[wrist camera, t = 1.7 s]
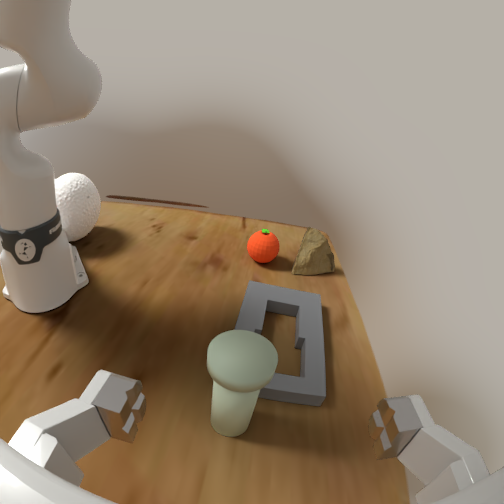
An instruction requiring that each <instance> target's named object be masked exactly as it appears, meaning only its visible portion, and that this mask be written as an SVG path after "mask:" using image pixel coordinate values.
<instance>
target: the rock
mask: <svg viewBox="0 0 504 504" xmlns="http://www.w3.org/2000/svg"><path fill="white" fill-rule="evenodd" d="M334 271H335V264H334V255H333V253H332V252H331V249H330V246H329V244H328V240H327V239H326V238H325V237H324V236H323V235H322V234H321V233H320V232H319V231H318V230H316V229H314V228H310V227H308V229H307V231H306V233H305V235H304V237H303V240H302V244H301V246H300V249H299V252H298V255H297V256H296V259H295V262H294V264H293V267H292V274H293V275H295V274H302V275H315V274H320V273H321V274H322V273H325V272H334Z"/></svg>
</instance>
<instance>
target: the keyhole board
mask: <svg viewBox="0 0 504 504" xmlns="http://www.w3.org/2000/svg"><path fill="white" fill-rule="evenodd" d="M265 311H269V312H274V313H279V314H284V315H289V316H295V317H296V333H295V348H297V349H301V368H300V377H297V376H291V375H285V374H279V373H274V375H273V378H272V379H271V381H270V382H269V383H268V384H267V385H266V386H265V387H263V388H261V389H260V392H259V395H258V397H259V398H265V399H271V400H277V401H283V402H289V403H297V404H304V405H313V406H320V405H321V404H322V402H323V401H324V399H325V398H326V376H325V354H324V337H323V322H322V309H321V297H320V295H319V294H314V293H309V292H304V291H299V290H294V289H288V288H283V287H278V286H273V285H268V284H264V283H259V282H254V281H249V283H248V287H247V290H246V293H245V296H244V300H243V303H242V306H241V310H240V313H239V316H238V319H237V323H236V326H235V329H234V330H247V331H251V332H255V333H257V334H260V335H261V332H262V327H263V322H264V317H265Z"/></svg>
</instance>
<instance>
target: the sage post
mask: <svg viewBox="0 0 504 504" xmlns="http://www.w3.org/2000/svg"><path fill="white" fill-rule="evenodd" d="M277 364H278V354H277V351H276V349H275V347H274V346H273V344H272V343H271V342H270V341H269V340H268V339H266V338H265V337H263V336H261V335H260V334H257V333H255V332H251V331H247V330H231V331H226V332H223V333H221V334H219V335H218V336H216V337H215V338H214V339H213V340H212V341H211V343H210V344H209V347H208V351H207V369H208V372H209V374H210V376H211V377H212V379H213V380H214V381H213V394H212V406H211V425H212V427H213V428H214V430H215V431H216V432H218V433H219V434H221V435H223V436H227V437H235V436H238V435H241V434H242V433H244V432H245V431H246V430H247V428H248V425H249V423H250V420H251V417H252V414H253V411H254V408H255V405H256V402H257V398H258V395H259V392H260V389H261V388H263V387H265V386H266V385H267V384H268V383H269V382H270V381H271V379H272V378H273V375H274V372H275V369H276V366H277Z"/></svg>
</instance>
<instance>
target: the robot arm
mask: <svg viewBox="0 0 504 504" xmlns="http://www.w3.org/2000/svg"><path fill="white" fill-rule="evenodd" d="M70 3H71V0H0V47H1V48H4V49H7V50H10V51H13V52H15V53H17V54H18V55H19V56H20V57H21V58H22V59H23V60H24V62H25V63H24V64H20V65H14V66H10V67H5V68H1V69H0V240H1V243H2V246H3V248H4V249H3V250H2V252H1V255H0V263H1V268H2V272H3V276H4V280H5V284H6V285H5V287H4V289H3V295H4V297H5V298H7V299H9V300H11V301H13V303H14V304H15V306H16V307H17V308H19V309H20V310H22V311H25V312H30V313H39V312H45V311H49V310H52V309H54V308H56V307H58V306H60V305H62V304H63V303H65V302H66V301H67V300H69V299H70V298H71V297H72V295H73V294H74V293H75V292H76V291H77V290H78V289H80V288H82V287H84V286H85V285H87V284H88V282H89V280H88V277H87V274H86V272H85V269H84V267H83V264H82V262H81V259H80V257H79V254H78V252H77V249H76V247H75V246H71V244H70V243H68V239H67V236H66V233H65V231H64V230H63V229H62V224H61V216H60V212H59V209H58V208H57V204H56V194H55V180H54V169H53V166H52V164H51V163H50V161H49V160H48V159H47V158H45V157H44V156H42V155H40V154H38V153H35V152H32V151H30V150H27V149H26V148H25V147H24V146H23V145H22V143H21V140H20V133H21V132H23V131H28V130H34V129H40V128H46V127H53V126H59V125H63V124H66V123H69V122H73V121H76V120H79V119H82V118H85V117H86V116H87V115H88V114H89V113H90V112H91V111H92V110H93V108H94V107H95V105H96V103H97V101H98V99H99V97H100V93H101V88H102V79H101V74H100V71H99V69H98V67H97V65H96V64H95V63H94V62H93V61H92V60H91V59H89V58H88V57H86V56H85V55H84V54H82V52H81V51H80V50H79V49H78V47H77V46H76V45H75V43H74V41H73V39H72V36H71V33H70V29H69V10H70ZM142 389H143V387H142V384H141V381H138V380H135V379H131V378H128V377H124V376H121V375H118V374H115V373H111V372H108V371H105V370H102V369H101V370H99V371H98V372H97V373H96V375H95V376H94V377H93V379H92V380H91V382H90V383H89V385H88V386H87V388H86V389H85V391H84V392H83V394H82V395H81V397H80V398H79V399H76V398H75V399H72V400H70V401H68V402H66V403H63V404H61V405H59V406H56V407H54V408H52V409H49V410H47V411H45V412H42V413H40V414H38V415H35V416H33V417H30V418H28V419H25V421H24V422H23V423H22V425H21V426H20V428H19V429H18V431H17V432H16V433H15V435H14V436H13V438H12V439H11V441H10V442H9V444H7V443H6V442H5V441H4V440H2V439H1V438H0V504H117V503H115V502H112V501H109V500H107V499H104V498H102V497H100V496H97V495H95V494H93V493H90V492H88V491H86V490H84V489H82V488H80V487H79V486H80V483H81V481H82V479H83V477H84V474H83V472H82V470H81V469H80V468H79V467H78V466H77V465H76V463H75V462H76V461H77V460H79V459H80V458H82V457H84V456H85V455H87V454H88V453H90V452H91V451H93V450H94V449H96V448H97V447H99V446H100V445H101V444H103V443H104V442H106V441H107V440H109V439H110V437H112V438H115V439H119V440H122V441H125V442H129V443H133V441H134V439H135V436H136V434H137V432H138V427H137V423H138V422H140V421H142V420H143V417H144V415H145V410H146V399H145V396H144V395H143V394H142V393H141V391H142ZM377 407H378V410H377V411H376V412H374V413H373V414H372V416H371V418H370V419H369V425H368V428H369V434H370V437H371V438H372V439H374V440H375V443H374V445H373V448H374V452H375V455H376V459H377V460H380V459H387V458H393V457H397V459H398V460H399V461H400V462H401V463H402V464H403V465H404V466H405V467H406V468H407V469H409V470H410V471H411V472H412V473H413V474H414V475H415V476H416V477H417V478H418V479H419V480H420V481H421V482H422V483H423V484H424V485H425V487H424V488H422V489H421V490H420V491H419V492H417V494H416V495H415V498H416V501H417V504H504V467H502V468H501V469H499V470H497V471H496V472H494V473H492V474H491V475H490V473H489V471H488V469H487V467H486V465H485V462H484V460H483V458H482V456H481V454H480V452H479V451H478V450H477V449H475V448H474V447H472V446H471V445H469V444H467V443H466V442H464V441H463V440H461V439H460V438H458V437H457V436H455V435H453V434H452V433H451V432H449V431H448V430H446V429H444V428H443V427H441V426H440V425H435V423H434V421H433V420H432V417H431V415H430V413H429V411H428V409H427V407H426V406H425V404H424V402H423V400H422V398H421V396H420V395H418V394H417V395H410V396H401V397H394V398H385V399H382V400H381V401H380V402H379V403H378V405H377Z"/></svg>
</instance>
